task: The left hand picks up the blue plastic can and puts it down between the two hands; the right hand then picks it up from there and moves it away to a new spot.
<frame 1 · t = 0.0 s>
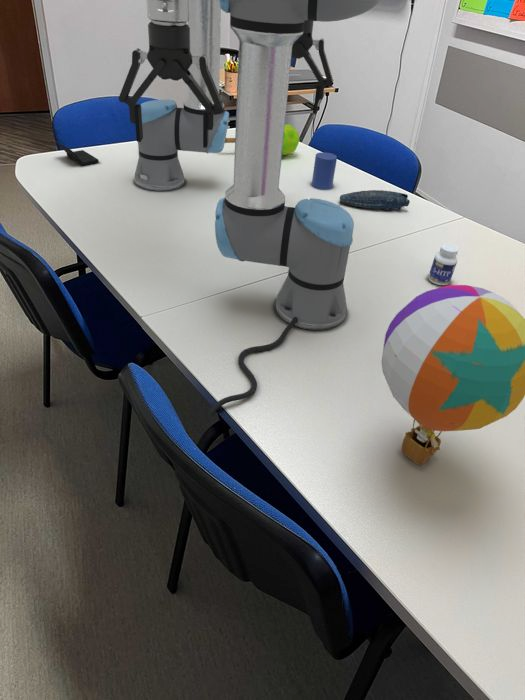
left hand: (172, 142, 107), 28 cm above the table, tool pointing down, fingers open, 13 cm apart
right hand: (288, 109, 135), 28 cm above the table, tool pointing down, fingers open, 13 cm apart
toy: (416, 455, 83), on the table
can: (322, 185, 171), on the table
decorative tree: (258, 154, 190), on the table
fish model: (372, 206, 160), on the table
handheld gaming console: (78, 160, 172), on the table
pill bottle: (438, 280, 127), on the table
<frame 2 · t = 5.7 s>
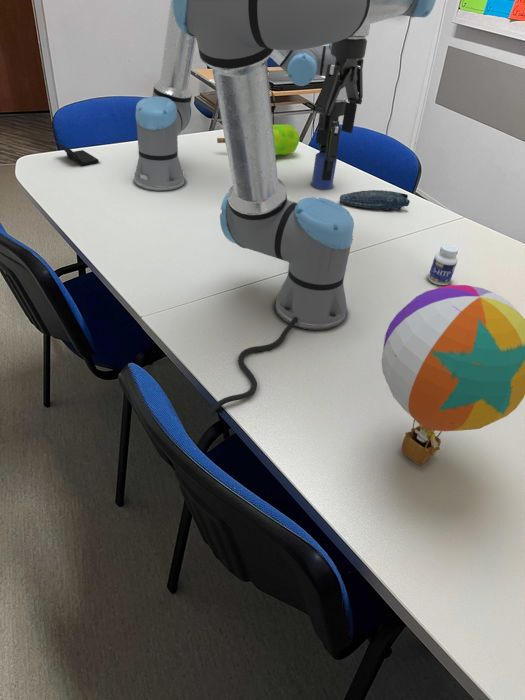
left hand: (323, 175, 169), 3 cm above the table, tool pointing down, fingers closed on can, 7 cm apart
right hand: (334, 137, 126), 26 cm above the table, tool pointing down, fingers open, 13 cm apart
can: (321, 185, 171), on the table, touching left hand
everything else where it was.
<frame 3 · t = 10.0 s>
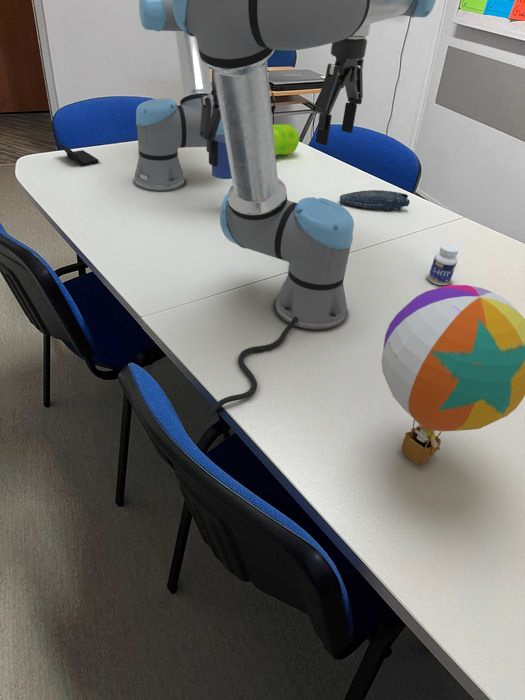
left hand: (224, 162, 140), 14 cm above the table, tool pointing down, fingers closed on can, 7 cm apart
right hand: (334, 137, 126), 26 cm above the table, tool pointing down, fingers open, 13 cm apart
can: (224, 174, 142), point 11 cm above the table, touching left hand
everything else where it was.
when the left hand's fingers open (4 cm above the table, at t = 14.2 s): can drops 1 cm, on the table.
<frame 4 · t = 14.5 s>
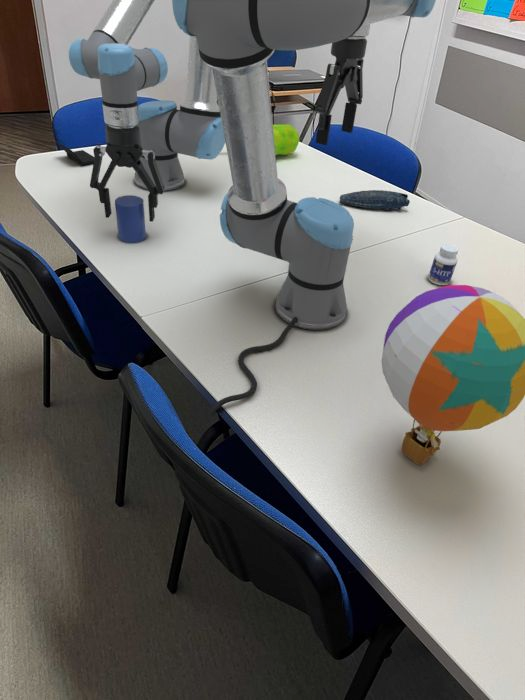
left hand: (130, 217, 130), 5 cm above the table, tool pointing down, fingers open, 10 cm apart
right hand: (334, 137, 126), 26 cm above the table, tool pointing down, fingers open, 13 cm apart
can: (132, 236, 133), on the table
everything else where it was.
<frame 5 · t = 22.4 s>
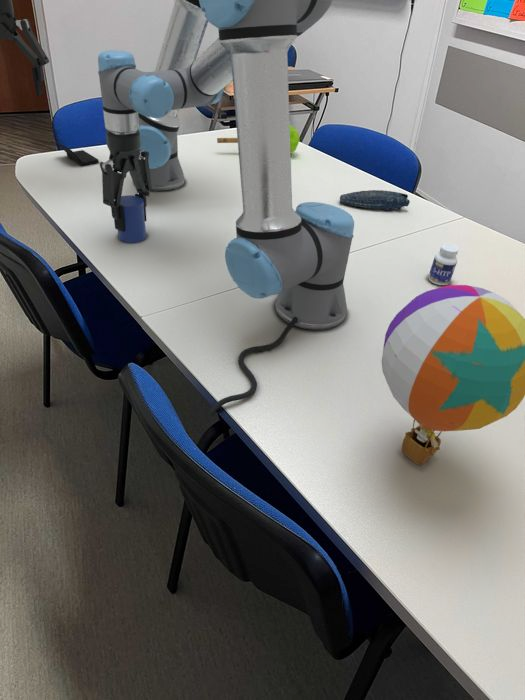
left hand: (13, 92, 133), 26 cm above the table, tool pointing down, fingers open, 13 cm apart
right hand: (131, 224, 131), 3 cm above the table, tool pointing down, fingers closed on can, 7 cm apart
can: (132, 236, 133), on the table, touching right hand
everything else where it was.
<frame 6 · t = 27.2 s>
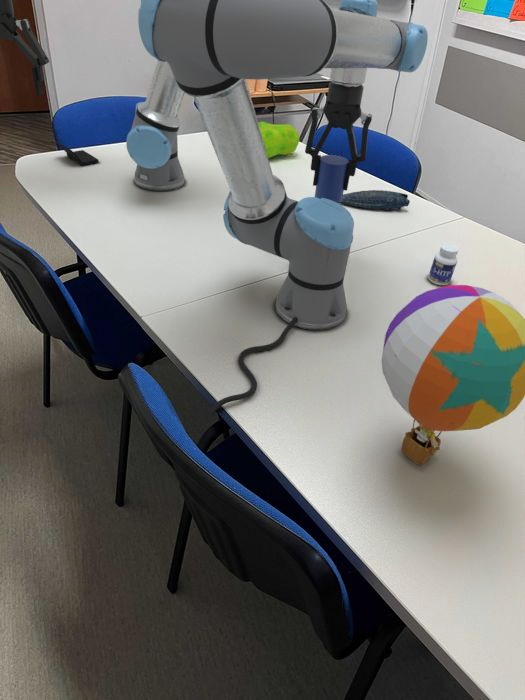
left hand: (13, 92, 133), 26 cm above the table, tool pointing down, fingers open, 13 cm apart
right hand: (330, 185, 127), 16 cm above the table, tool pointing down, fingers closed on can, 7 cm apart
can: (328, 198, 129), point 13 cm above the table, touching right hand
everything else where it was.
when the right hand's fingers open (4 cm above the table, at t = 32.0 s): can drops 1 cm, on the table.
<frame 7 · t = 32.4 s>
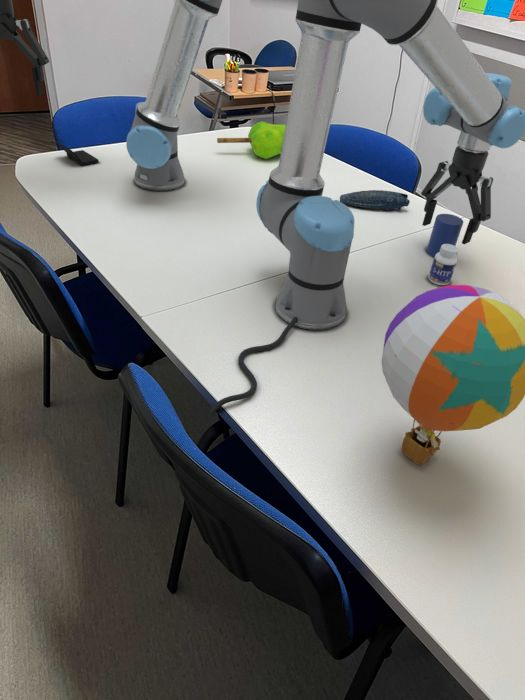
left hand: (13, 92, 133), 26 cm above the table, tool pointing down, fingers open, 13 cm apart
right hand: (445, 233, 135), 6 cm above the table, tool pointing down, fingers open, 11 cm apart
can: (439, 252, 139), on the table
everything else where it was.
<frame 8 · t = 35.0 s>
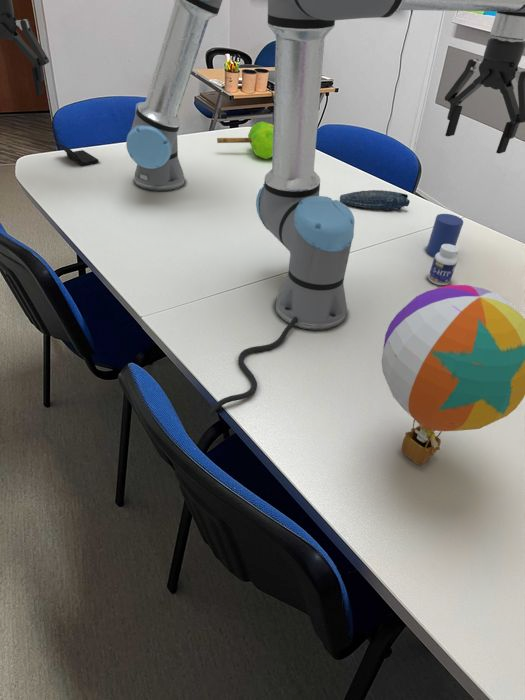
left hand: (13, 92, 133), 26 cm above the table, tool pointing down, fingers open, 13 cm apart
right hand: (474, 143, 121), 28 cm above the table, tool pointing down, fingers open, 13 cm apart
nothing on the table moved.
at the end: can inside the target area (0.0 cm from its centre), on the table; can tilted 0°; the two hands never held the can at the same time; the left hand is holding nothing; the right hand is holding nothing; can at rest at the end (0.0 cm/s) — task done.
